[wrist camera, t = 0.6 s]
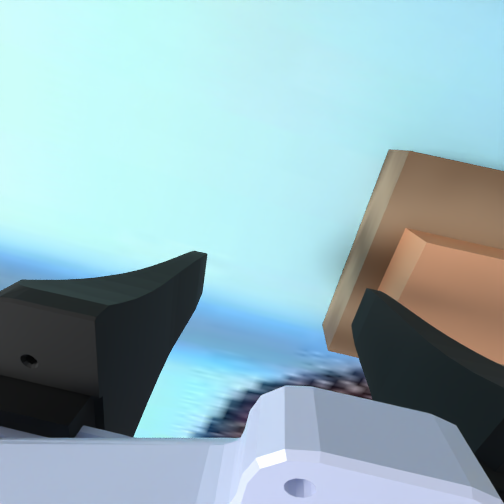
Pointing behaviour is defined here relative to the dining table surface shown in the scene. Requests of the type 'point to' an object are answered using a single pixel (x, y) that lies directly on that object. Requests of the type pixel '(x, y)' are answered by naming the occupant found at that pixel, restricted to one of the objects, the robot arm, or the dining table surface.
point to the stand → (413, 225)
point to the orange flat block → (451, 288)
